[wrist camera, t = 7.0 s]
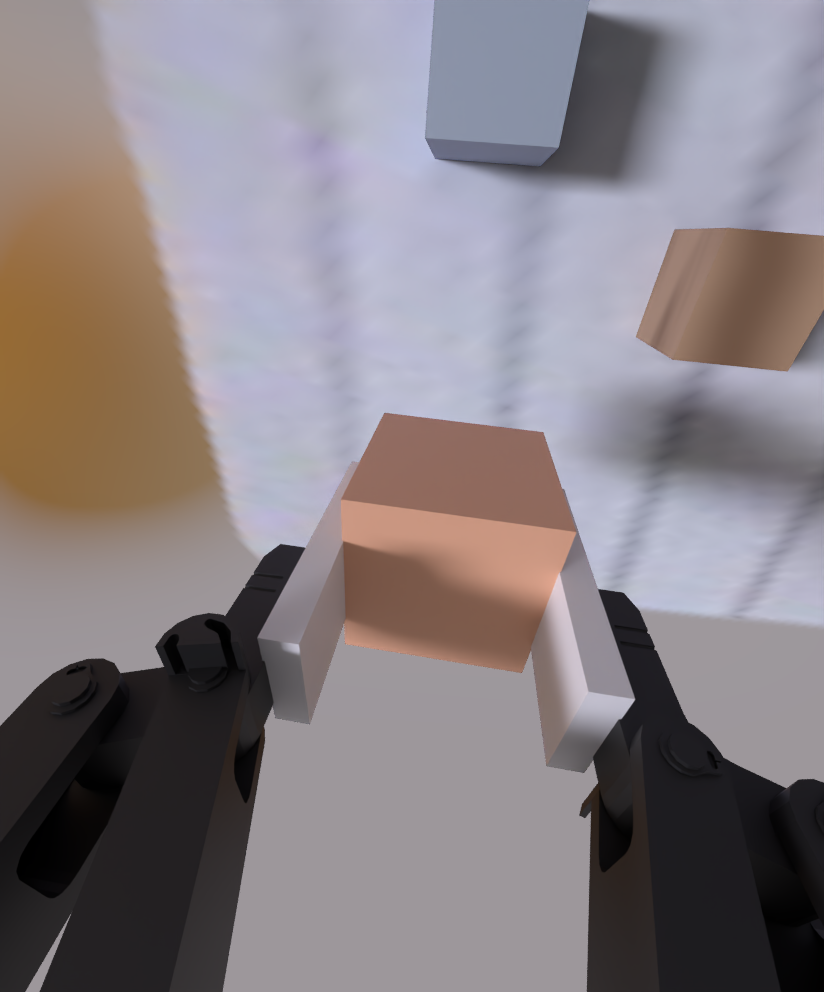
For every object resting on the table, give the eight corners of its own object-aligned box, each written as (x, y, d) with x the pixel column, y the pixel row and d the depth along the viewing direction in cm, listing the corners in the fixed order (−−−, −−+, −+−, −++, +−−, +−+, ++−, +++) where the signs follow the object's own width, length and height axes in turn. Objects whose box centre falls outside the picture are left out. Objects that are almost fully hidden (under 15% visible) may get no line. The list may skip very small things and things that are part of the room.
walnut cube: (780, 238, 19) (864, 239, 15) (728, 345, 22) (787, 371, 18) (673, 229, 20) (727, 227, 16) (635, 336, 22) (672, 359, 18)
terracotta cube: (543, 432, 12) (576, 531, 8) (509, 553, 15) (522, 672, 11) (384, 412, 13) (340, 499, 9) (379, 534, 16) (345, 644, 11)
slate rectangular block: (570, 8, 16) (604, -69, 12) (539, 166, 19) (558, 147, 15) (447, 2, 17) (439, -75, 12) (435, 158, 19) (424, 137, 15)
